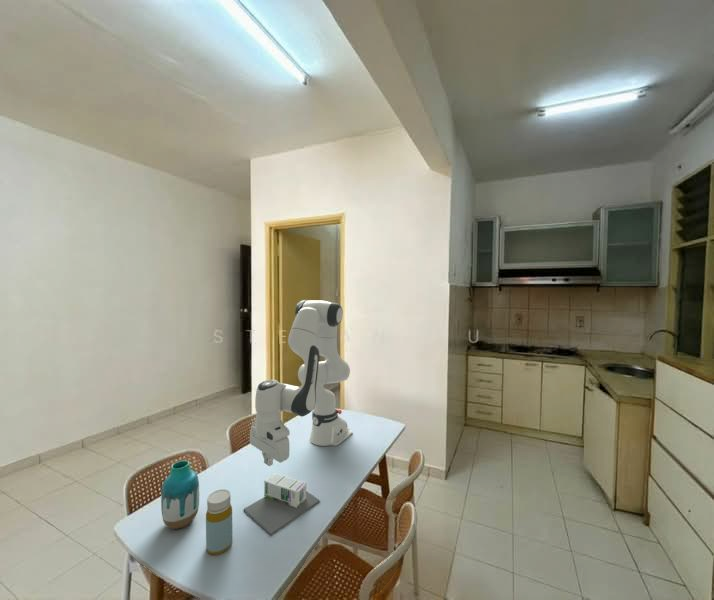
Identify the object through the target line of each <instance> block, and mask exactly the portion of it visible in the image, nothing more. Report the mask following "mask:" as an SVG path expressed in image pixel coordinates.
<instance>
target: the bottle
mask: <svg viewBox="0 0 714 600" xmlns="http://www.w3.org/2000/svg"><path fill="white" fill-rule="evenodd" d="M231 500H232V499H231V492H230V490H228V489H223V488H221V489H218V490H215V491H213V492H211V493H210V494H209V495H208V496H207V500H206V503H207V505H206V506H207V507H206V509H207V510H206V513H205V538H206V539H205V541H206V542H205V544H206V545H205V547H206V551H207V552H208V553H209V554H210V555H212V556H213V555H220V554H223V553H224V552H226V551H227V550H228V549H229V548H230V547H231V546H232V544H233V506H232V504H231Z"/></svg>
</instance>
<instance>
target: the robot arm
mask: <svg viewBox="0 0 714 600" xmlns="http://www.w3.org/2000/svg"><path fill="white" fill-rule="evenodd" d="M343 312H344V311H343V307H342V306H341V304H339V303H336V302H330V301H326V300H308V299H304V300H300V301H299V302H298V303H297V304H296V306H295V309H294V315H295V318H294V321H293V322H292V324H291V325H292V326H291V329H290V331H289V334H288V340H287V344H288V347H289V348H290V350H291V351H292V352H293V353H295V354H296V355H297V356H299V357H300V358H301V359H302V360H303V364H301V365H300V366H299V368H298V370H297V378H298V380H299V383H300V384H301V385H300V386H297V385H293V384H288V383H282V382H280V381H278V380H277V379H268V380H264V381H262V382H260V383H259V384H258V385H257V388H256V391H255V392H256V393H255V398H254V399H255V402H254V403H255V404H254V405H255V406H254V407H255V411H256V415H255V419H254V420H253V421H251V422H252V423H251V425H252V426H251V427H250V431H249V443H250V445H251V446H253V447H254V448H256V449H257V450H259V451H260V452H261V455H262V457H263V463H264V464H265V465H267V466H268V467H270V466H273V463H274V460H275V461H277V462H278V463H280V464H281V463H283V462H285V461H287V460H288V459H289V458H290V440H289V436H290V430H289V428H288V427H287V426H286V425H285V423H284V422H283V420H282V417H281V412H287V413H292V414H294V415H296V416H299V417H301V418H302V417H305V416H307V415H309V414H311V412H312V414H311V416H312V418H311V419H312V423H311V425H312V426H311V430H310V431H311V432H310V436H309V441H310V443H311V444H312V445H315V446H321V447H325V446H327V447H328V446H339V445H340V444H341V443H342V442H344V441H345V440H346V439H348V438H349V437H350V436H352V435H353V431H352V429H350V428H349V427H348V422H347V421H346V420H345V419H344V418H342V417H341V416H339V415H341V414H342V412H343V411H342V410H341V409H339V408H338V409H336V395H335V393H334V392H333V391H331V390H330V389H326V388H325V387H324V386H325V385H327V384H337V383H342V382H345V381H347V380H348V379H349V377H350V374H351V369H350V365H349V364H348V363H347V362H346V361H345V360H344V359H343V358H342V357H341V356H340V354H339V350H338V325H340V323H341V322H342V319H343V314H344V313H343ZM320 357H324V358H325V360H323V361H322V360H321V361H320Z"/></svg>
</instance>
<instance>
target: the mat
mask: <svg viewBox="0 0 714 600" xmlns="http://www.w3.org/2000/svg"><path fill="white" fill-rule="evenodd" d="M320 502H321V501H320V499H319V498H317V497H316V496H314V495H312V494H311V493H310V492H309V491H307V490H306V499H305V500H304V502H303V503H302V504H301V505H300V506H299V507H297V508H296V507H293V506H290V505H287V504H284V503H282V502H279V501H276V500H273V499H270V498H268V497H265V496H263V497H262V498H259V500H257V501H255V502H253V503H251V504H250V505H248V506H246V507H244V508H243V512H245V513H246V514H247V515H248V516H249V517H250V518H251V519H252V520H253V521H255V523H256V524H257V525H258V526H260V527H261V528H262V529H263V530H264V531H265V532H266V533H267V535H269V536H273V535H274V534H275V533H276V532H279V530H281V529H283V528H285V526H287V525H289V524H290V523H292V521H294V520H296V519H297V518H299V517H300V516H301V515H303V514H304V513H306V512H307V511H309V510H310V509H312V508H313V507H314V506H316V505H317V504H319V503H320Z"/></svg>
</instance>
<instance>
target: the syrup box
mask: <svg viewBox="0 0 714 600" xmlns="http://www.w3.org/2000/svg"><path fill="white" fill-rule="evenodd" d="M263 482H264V483H263V484H264V485H263V486H264V490H263V491H264V492H263V493H264V494H263V495H264V496H263V497H268V498H270V499H273V500H276V501H279V502H282V503H284V504H287V505H290V506H293V507H296V508H297V507H299V506H300V505H301V504H302V503H303V502H304V500H305V499H306V491H307V482H305V481H302V480H298V479H296V478H291V477H289V476H285V475H283V474H279V473H275V472H274V473H273V474H271V475H270V476H268V477H267V478H266V479H265V480H264V481H263Z"/></svg>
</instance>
